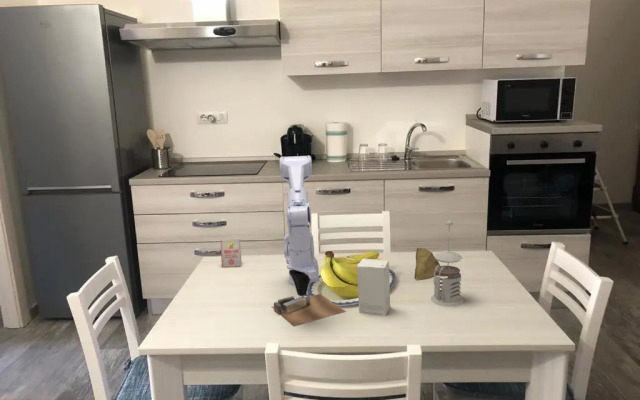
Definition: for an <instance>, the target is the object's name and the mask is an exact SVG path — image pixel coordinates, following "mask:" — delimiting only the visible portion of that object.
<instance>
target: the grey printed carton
mask: <svg viewBox="0 0 640 400" xmlns="http://www.w3.org/2000/svg"><path fill="white" fill-rule="evenodd" d="M220 260H221V268H223V269H225V268H226V269H228V268H241V267H242V264H243V262H242V261H243V260H242V249H241V243H240V239H221V240H220Z"/></svg>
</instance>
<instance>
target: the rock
mask: <svg viewBox="0 0 640 400" xmlns="http://www.w3.org/2000/svg"><path fill="white" fill-rule="evenodd" d="M415 251H416V252H415V269H414V280H416V281H420V280H427V279H429V278H434V277H435V276H434V272H435V269H436V267H437V265H439V266H441V264H440V261H437V260H436V259H435V255H434V253H433V252H431V251H430V250H428V249H427V248H424V247H417V248H416V250H415ZM439 266H438V267H439Z"/></svg>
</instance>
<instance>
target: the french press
mask: <svg viewBox="0 0 640 400" xmlns="http://www.w3.org/2000/svg"><path fill="white" fill-rule="evenodd" d="M445 225H446V226H448V231H450V228H451V227H450V226H453V221H451V220H447V221H446V222H445ZM447 239H448V243H447V245H448V247H447V250H445V251H444V250H443V251H440V252H438V253H436V254H435V255H434V257H435V259H436V260H437V261H438V262H439V263H446V264H447V265H440V266H439V265H437V267H436V269H435V272H434V276H433V277H434V281H433V285H434V288H433V289H434V291H433V292H434V293H433V295H432V296H431V297H430V300H431V301H432V303H434V304H436V305H438V306H442V307H456V306H457V307H458V306H461V305H462V304H464V298H463V297H462V295H461V293H462V292H461V290H462V289H461V285H462V284H461V282H462V274H461V273H460V272H461V269H460V268H459V267H457V266H453V265H448V264H452V263H459V262H461V260H462V259H463V256H462V255H460V253H457V252H454V251H451V250H450V238H447ZM438 266H439V267H438ZM441 277H445V278H441Z"/></svg>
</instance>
